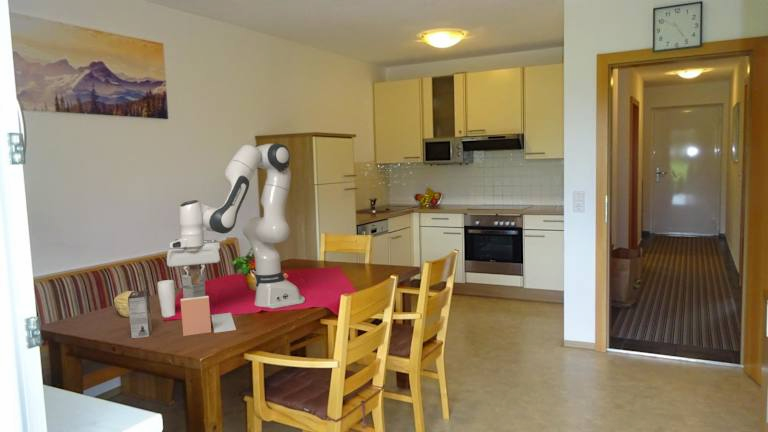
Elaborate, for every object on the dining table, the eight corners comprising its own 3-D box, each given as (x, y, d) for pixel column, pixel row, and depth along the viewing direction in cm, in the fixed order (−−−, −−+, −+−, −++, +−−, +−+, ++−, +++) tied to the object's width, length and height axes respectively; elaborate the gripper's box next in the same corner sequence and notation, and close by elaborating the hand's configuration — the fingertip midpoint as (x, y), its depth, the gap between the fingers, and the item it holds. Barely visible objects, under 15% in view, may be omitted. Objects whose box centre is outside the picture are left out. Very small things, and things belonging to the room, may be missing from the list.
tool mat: (230, 313, 239) (230, 312, 239) (236, 331, 214) (236, 329, 214) (211, 316, 236) (211, 315, 236) (214, 334, 212) (214, 332, 212)
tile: (211, 331, 216) (208, 295, 214) (211, 333, 213) (208, 297, 211) (183, 335, 212) (180, 299, 211) (183, 337, 209) (180, 300, 208)
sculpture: (111, 317, 240) (108, 293, 239) (134, 310, 251) (132, 286, 250) (130, 320, 236) (127, 295, 234) (152, 312, 246) (150, 288, 245)
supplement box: (183, 302, 262) (181, 275, 261) (196, 298, 268) (194, 272, 267) (193, 304, 258) (191, 277, 257) (206, 300, 264) (204, 273, 263)
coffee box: (134, 331, 219) (131, 291, 217) (152, 329, 221) (148, 289, 219) (131, 339, 210) (127, 297, 208) (149, 336, 212) (146, 295, 210)
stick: (198, 274, 236) (197, 264, 236) (200, 284, 216) (199, 274, 215) (190, 274, 235) (189, 265, 235) (191, 285, 214) (191, 274, 214)
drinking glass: (171, 318, 235) (168, 283, 233) (156, 318, 236) (153, 283, 235) (180, 314, 241) (177, 280, 240) (166, 313, 243) (163, 279, 241)
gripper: (218, 238, 230) (221, 271, 232) (165, 242, 223) (168, 276, 225) (220, 240, 224) (222, 274, 226) (165, 244, 217) (167, 279, 219)
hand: (194, 275), depth 225 cm, fingers closed on stick, 3 cm apart
